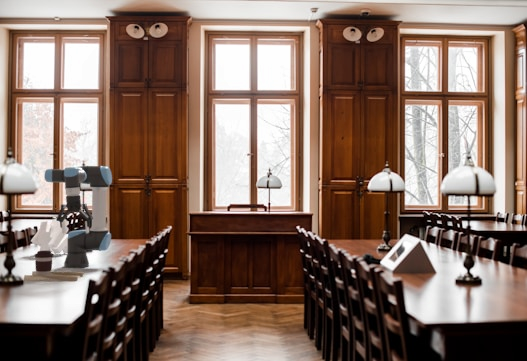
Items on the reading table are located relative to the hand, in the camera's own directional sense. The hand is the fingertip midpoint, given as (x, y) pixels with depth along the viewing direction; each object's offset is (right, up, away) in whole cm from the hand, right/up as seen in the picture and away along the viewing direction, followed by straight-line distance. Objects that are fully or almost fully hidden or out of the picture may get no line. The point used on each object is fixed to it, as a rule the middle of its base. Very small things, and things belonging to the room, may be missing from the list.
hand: (75, 233), depth 317 cm
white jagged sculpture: (-50, -26, +98) cm, 113 cm away
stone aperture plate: (-6, -26, +3) cm, 27 cm away
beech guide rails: (-13, -26, +2) cm, 29 cm away
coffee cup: (-19, -26, +1) cm, 32 cm away
